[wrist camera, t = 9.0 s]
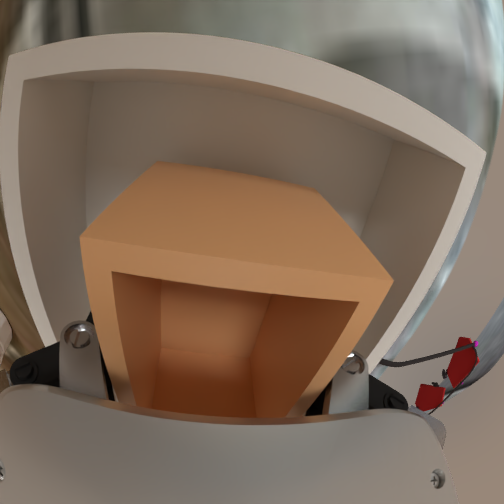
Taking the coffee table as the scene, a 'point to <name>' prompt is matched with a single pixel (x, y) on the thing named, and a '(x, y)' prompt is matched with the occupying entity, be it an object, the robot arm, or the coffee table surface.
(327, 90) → the box
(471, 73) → the coffee table surface
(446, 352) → the glasses
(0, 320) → the white cup
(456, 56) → the coffee table surface
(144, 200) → the orange crate
